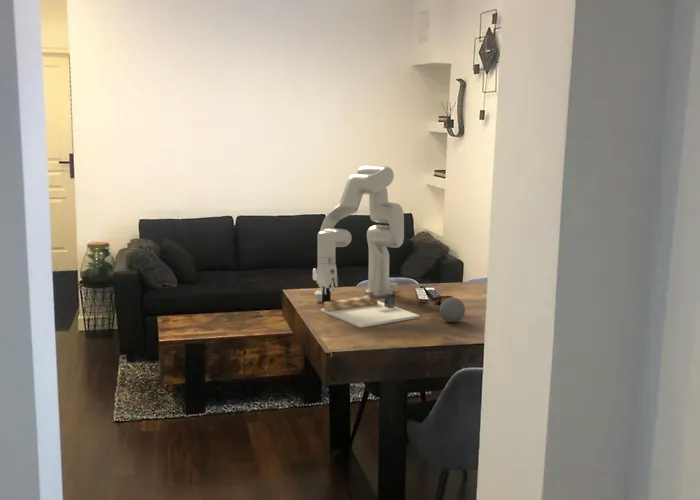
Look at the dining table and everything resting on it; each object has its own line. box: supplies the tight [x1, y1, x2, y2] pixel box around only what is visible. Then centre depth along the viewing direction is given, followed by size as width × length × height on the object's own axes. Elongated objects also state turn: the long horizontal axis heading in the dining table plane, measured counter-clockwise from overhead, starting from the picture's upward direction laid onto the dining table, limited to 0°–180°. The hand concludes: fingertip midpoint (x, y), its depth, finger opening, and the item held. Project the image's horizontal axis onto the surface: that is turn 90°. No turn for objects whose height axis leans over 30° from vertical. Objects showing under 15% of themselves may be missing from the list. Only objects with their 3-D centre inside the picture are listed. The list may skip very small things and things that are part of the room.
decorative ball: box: [439, 296, 466, 323], centre depth 301 cm, size 10×10×10 cm
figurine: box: [312, 267, 333, 302], centre depth 335 cm, size 7×9×15 cm
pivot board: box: [320, 300, 420, 329], centre depth 313 cm, size 29×30×1 cm
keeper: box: [373, 291, 395, 308], centre depth 320 cm, size 9×3×6 cm, turn 123°
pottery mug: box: [434, 295, 453, 316], centre depth 317 cm, size 12×10×8 cm
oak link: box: [323, 291, 379, 311], centre depth 320 cm, size 25×6×5 cm, turn 123°
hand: (326, 302), depth 321 cm, fingers closed
